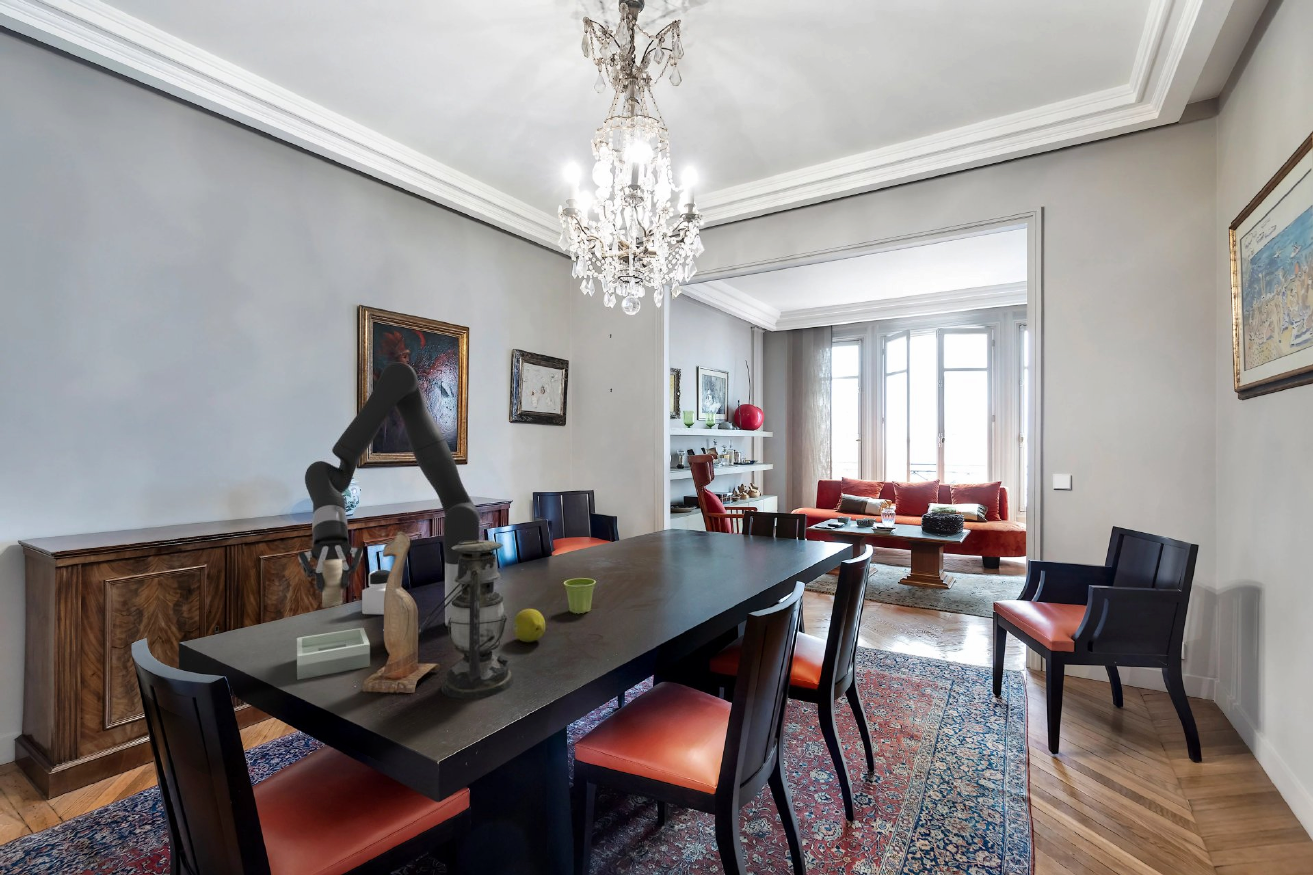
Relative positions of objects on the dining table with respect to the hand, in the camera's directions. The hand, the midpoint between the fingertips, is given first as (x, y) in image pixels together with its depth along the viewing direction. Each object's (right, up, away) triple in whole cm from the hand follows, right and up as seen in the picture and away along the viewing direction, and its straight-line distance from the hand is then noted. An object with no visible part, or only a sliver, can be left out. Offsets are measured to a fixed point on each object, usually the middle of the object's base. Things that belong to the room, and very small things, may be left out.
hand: (333, 588), depth 134 cm
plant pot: (+51, -18, +42) cm, 68 cm away
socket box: (-1, -17, +1) cm, 18 cm away
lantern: (+34, -17, -11) cm, 40 cm away
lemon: (+41, -18, +15) cm, 47 cm away
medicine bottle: (-10, -18, +43) cm, 48 cm away
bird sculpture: (+20, -18, -9) cm, 28 cm away
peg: (-1, -4, +2) cm, 4 cm away
